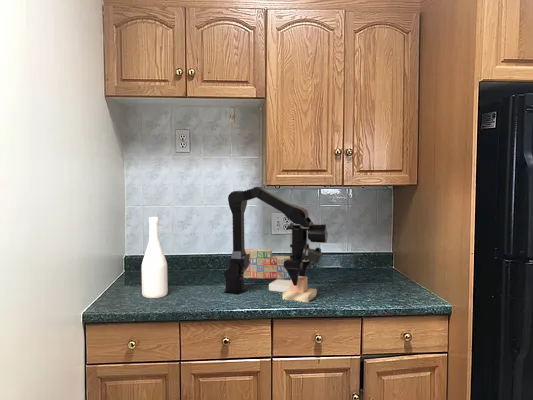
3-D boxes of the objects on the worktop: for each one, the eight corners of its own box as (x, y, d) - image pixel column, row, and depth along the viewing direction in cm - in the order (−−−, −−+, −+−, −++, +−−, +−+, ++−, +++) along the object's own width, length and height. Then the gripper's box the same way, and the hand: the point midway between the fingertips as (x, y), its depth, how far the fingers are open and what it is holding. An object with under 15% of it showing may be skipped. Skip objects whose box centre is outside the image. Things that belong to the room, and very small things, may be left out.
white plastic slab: (268, 291, 182) (268, 283, 182) (277, 286, 190) (277, 279, 190) (290, 293, 178) (290, 286, 178) (297, 288, 187) (297, 281, 186)
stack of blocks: (292, 276, 207) (292, 249, 206) (291, 279, 201) (291, 251, 200) (245, 274, 210) (245, 248, 209) (243, 278, 203) (243, 250, 203)
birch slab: (282, 300, 169) (282, 292, 169) (292, 294, 178) (292, 286, 178) (308, 303, 165) (308, 295, 165) (316, 296, 174) (316, 289, 174)
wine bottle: (153, 290, 181) (152, 215, 179) (172, 293, 176) (171, 216, 175) (136, 296, 172) (135, 217, 171) (156, 300, 168) (154, 219, 166)
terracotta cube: (290, 291, 170) (290, 278, 170) (294, 288, 175) (294, 275, 175) (303, 293, 169) (303, 279, 168) (307, 289, 173) (307, 276, 173)
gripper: (313, 246, 159) (313, 290, 160) (326, 239, 176) (326, 279, 177) (283, 244, 163) (283, 287, 164) (298, 237, 181) (298, 276, 182)
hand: (299, 282), depth 172 cm, fingers open, 9 cm apart
